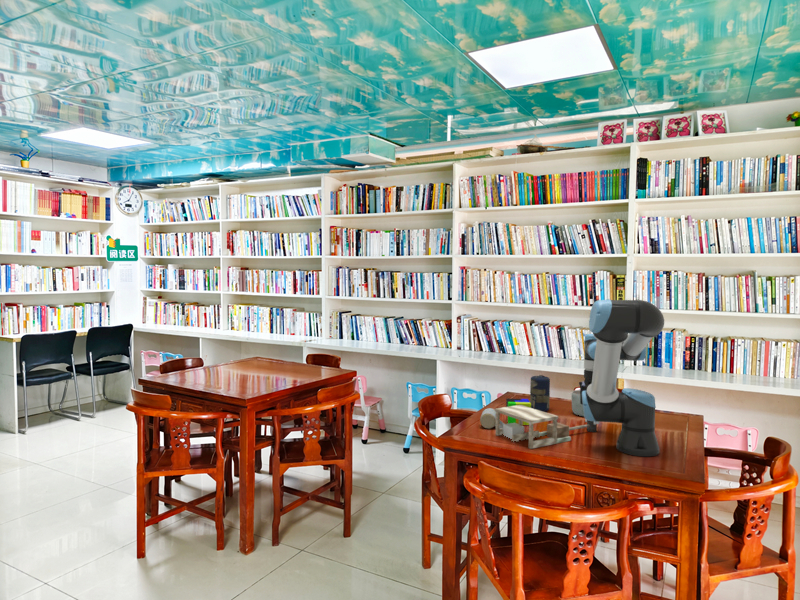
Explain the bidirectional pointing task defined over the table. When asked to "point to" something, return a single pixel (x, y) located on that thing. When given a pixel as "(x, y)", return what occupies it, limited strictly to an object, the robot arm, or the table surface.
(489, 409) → the ceramic mug
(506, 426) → the grey block
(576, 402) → the planter
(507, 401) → the puzzle toy
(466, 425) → the table surface
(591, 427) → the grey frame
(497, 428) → the lane shelf
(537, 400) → the canister
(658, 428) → the table surface
